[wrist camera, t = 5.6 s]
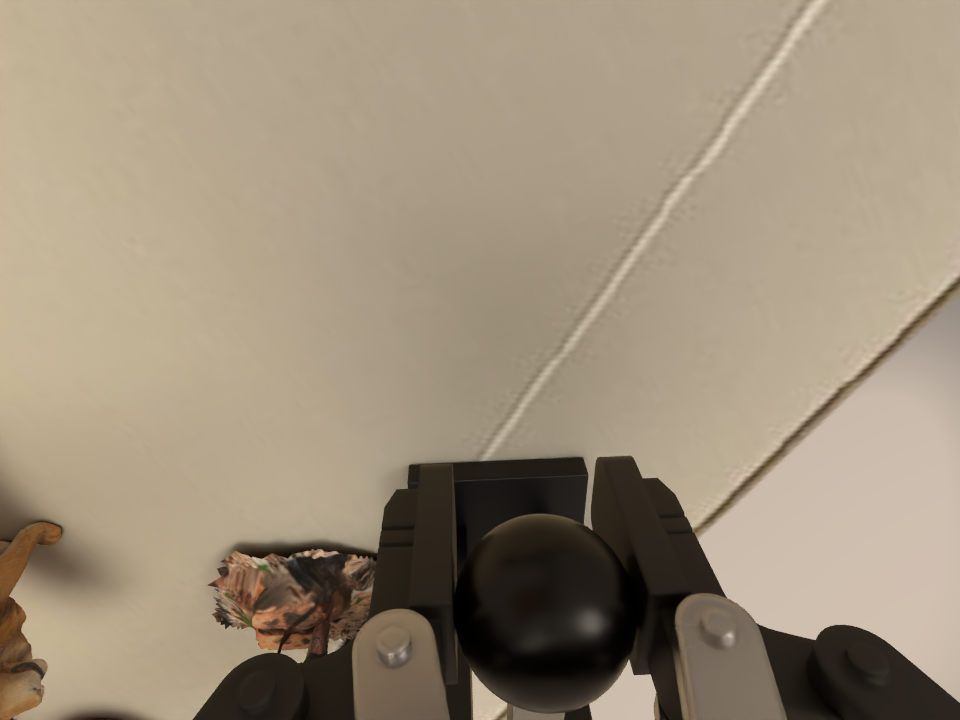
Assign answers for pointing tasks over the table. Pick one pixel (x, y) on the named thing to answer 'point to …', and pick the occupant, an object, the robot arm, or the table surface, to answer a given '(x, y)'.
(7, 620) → the lion figurine
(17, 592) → the table surface
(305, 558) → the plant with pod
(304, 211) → the table surface
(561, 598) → the lever
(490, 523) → the bracket
